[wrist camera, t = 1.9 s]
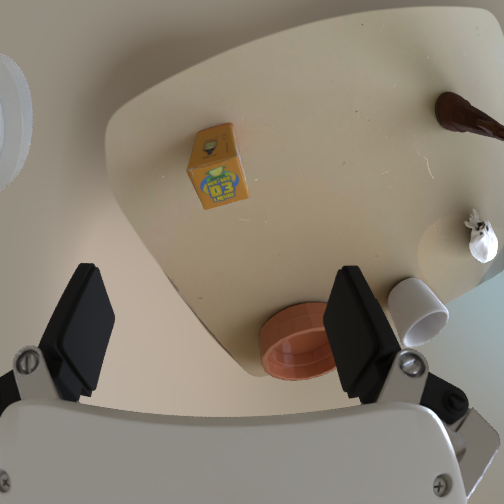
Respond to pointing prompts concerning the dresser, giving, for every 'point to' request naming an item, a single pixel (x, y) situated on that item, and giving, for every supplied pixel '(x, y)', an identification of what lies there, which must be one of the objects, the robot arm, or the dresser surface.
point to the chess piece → (465, 117)
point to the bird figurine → (481, 238)
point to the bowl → (296, 343)
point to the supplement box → (217, 167)
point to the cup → (416, 312)
